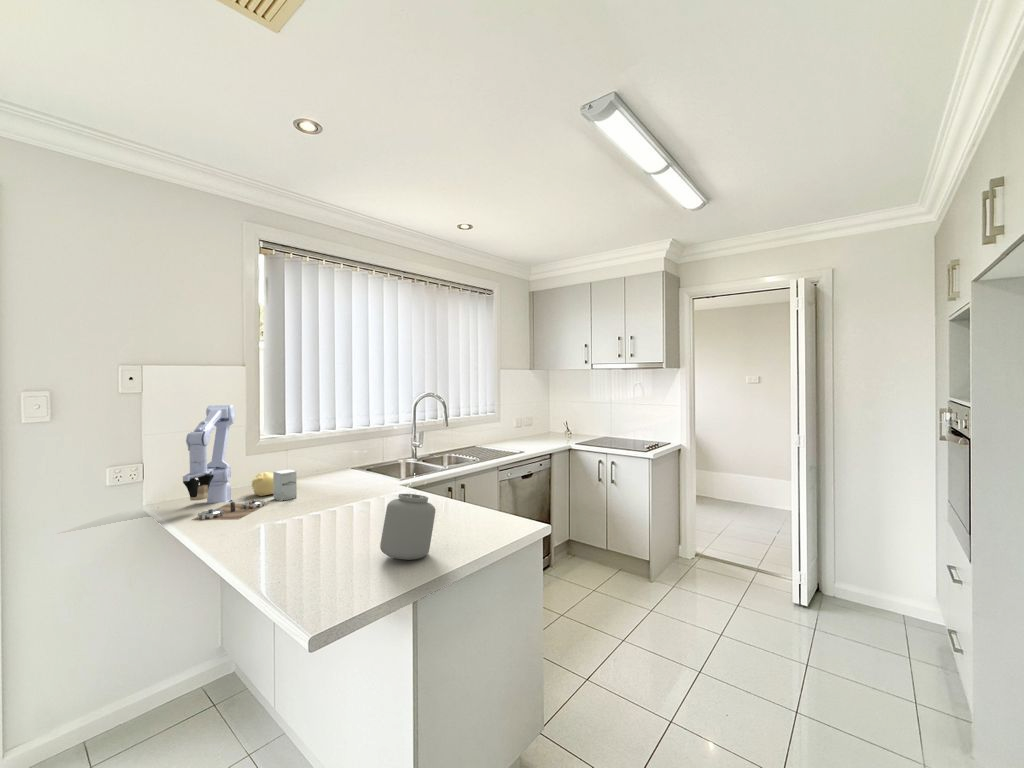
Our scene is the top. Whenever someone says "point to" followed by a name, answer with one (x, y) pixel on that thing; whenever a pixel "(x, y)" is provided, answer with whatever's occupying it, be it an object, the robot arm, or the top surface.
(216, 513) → the gear
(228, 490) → the robot arm
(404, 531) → the jar
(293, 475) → the supplement box
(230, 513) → the gear board
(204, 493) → the octagonal wooden tube
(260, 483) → the sculpture
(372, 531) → the top surface
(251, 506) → the gear
